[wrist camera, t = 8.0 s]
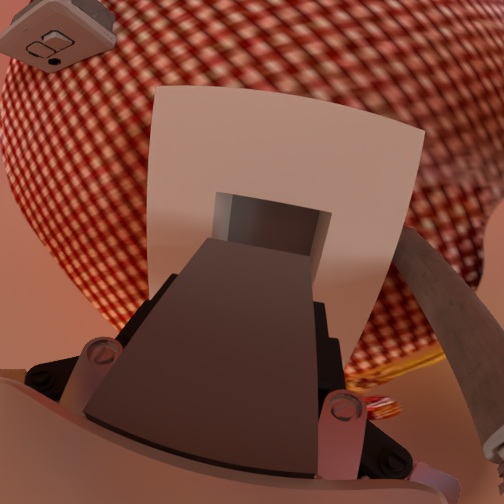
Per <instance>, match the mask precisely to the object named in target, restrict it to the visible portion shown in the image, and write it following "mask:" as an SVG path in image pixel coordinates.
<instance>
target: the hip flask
mask: <svg viewBox="0 0 504 504" xmlns="http://www.w3.org/2000/svg"><path fill="white" fill-rule="evenodd" d="M392 261H393V263H394V264H395V266H396V267H397V269H398V270H399V272H400V274H401V275H402V277H403V278H404V280H405V282H406V283H407V285H408V287H409V288H410V290H411V292H412V293H413V295H414V297H415V298H416V300H417V302H418V304H419V305H420V307H421V309H422V311H423V312H424V314H425V316H426V318H427V320H428V322H429V323H430V325H431V327H432V329H433V331H434V333H435V335H436V337H437V339H438V341H439V343H440V345H441V347H442V349H443V351H444V353H445V355H446V357H447V359H448V361H449V363H450V365H451V368H452V369H453V372H454V374H455V376H456V379H457V381H458V383H459V386H460V388H461V390H462V393H463V395H464V398H465V400H466V403H467V405H468V408H469V410H470V413H471V416H472V419H473V421H474V424H475V427H476V430H477V433H478V436H479V439H480V443H481V446H482V449H483V452H484V455H485V457H486V458H487V459H488V460H489V461H490V462H493V463H496V464H499V467H498V469H497V470H498V473H499V477H503V479H504V330H503V329H502V328H501V326H500V325H499V324H498V322H497V321H496V319H495V318H494V317H493V315H492V314H491V313H490V312H489V310H488V309H487V308H486V307H485V305H484V304H483V303H482V302H481V301H480V299H479V298H478V297H477V295H476V294H475V293H474V292H473V291H472V290H471V288H470V287H469V286H468V285H467V284H466V283H465V281H464V280H463V279H462V278H461V277H460V276H459V275H458V274H457V272H456V271H455V270H454V269H453V268H452V267H451V266H450V265H449V264H448V263H447V262H446V261H445V260H444V258H443V257H442V256H441V255H440V254H439V253H438V252H437V251H436V250H435V249H434V248H433V247H432V246H431V245H430V244H429V243H428V242H427V241H426V240H425V239H424V238H423V237H422V236H421V235H420V234H419V233H418V232H416V231H415V230H414V229H412V228H408V227H405V228H402V231H401V234H400V237H399V240H398V243H397V246H396V249H395V252H394V255H393V258H392ZM498 487H499V492H500V495H503V494H504V482H503V483H501V484H500V485H499V486H498Z"/></svg>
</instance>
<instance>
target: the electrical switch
mask: <svg viewBox="0 0 504 504" xmlns="http://www.w3.org/2000/svg"><path fill="white" fill-rule="evenodd" d="M78 6H79V7H78ZM94 13H95V15H94ZM115 18H116V17H115V16H114V15H113V14H112V13H111V12H110V11H109V10H108V9H107V8H105V7H104V6H103V5H102V4H101V3H100V2H99V1H98V0H34V1H33V2H32V3H30V4H29V5H28V6H26V7H25V8H24V9H23V10H21V11H20V12H19V13H18V14H17V15H15V16H14V18H13V20H12V22H11V24H10V26H9V27H8V28H7V29H6V30H5V31H4V32H3V33H2V34H0V53H2V54H5V55H7V56H10V57H12V58H14V59H17V60H19V61H22V62H24V63H26V64H29V65H31V66H33V67H35V68H38V69H40V70H42V71H44V72H46V73H54V72H57V71H59V70H61V69H63V68H65V67H67V66H69V65H72V64H74V63H76V62H79V61H81V60H83V59H86V58H88V57H91V56H94V55H96V54H99V53H102V52H104V51H107V50H110V49H113V48H114V46H115V43H116V41H117V38H116V36H115V35H114V34H113V33H111V32H112V26H113V23H114V20H115Z"/></svg>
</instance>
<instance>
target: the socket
mask: <svg viewBox="0 0 504 504" xmlns="http://www.w3.org/2000/svg"><path fill="white" fill-rule="evenodd" d="M424 136H425V131H424V130H421V129H418V128H416V127H413V126H410V125H408V124H405V123H402V122H399V121H396V120H393V119H390V118H387V117H384V116H380V115H377V114H374V113H370V112H367V111H363V110H360V109H356V108H352V107H348V106H344V105H340V104H336V103H331V102H327V101H322V100H317V99H312V98H307V97H302V96H296V95H290V94H284V93H277V92H270V91H262V90H253V89H243V88H230V87H214V86H156V90H155V97H154V105H153V114H152V123H151V134H150V146H149V160H148V180H147V264H148V284H149V298H150V300H151V299H152V298H153V296H154V295H155V294H156V293H157V291H158V290H159V289H160V288H161V286H162V285H163V284H164V283H165V281H166V280H167V279H168V278H169V276H170V275H171V274H172V273H175V274H179V273H180V272H181V271H182V269H183V268H184V267H185V266H186V264H187V263H188V262H189V260H190V259H191V258H192V257H193V255H194V254H195V253H196V251H197V250H198V249H199V248H200V246H201V245H202V244H203V243H204V241H205V240H206V239H207V238H214V239H219V240H224V241H230V242H235V243H241V244H246V245H251V246H257V247H262V248H267V249H273V250H278V251H283V252H289V253H294V254H299V255H305V256H309V260H310V270H311V281H312V293H313V301H316V302H322V303H325V309H326V317H327V325H328V333H329V337H332V338H338V339H339V343H340V349H341V356H342V364H343V370H344V368H345V366H346V364H347V362H348V361H349V359H350V357H351V355H352V353H353V351H354V349H355V347H356V345H357V342H358V340H359V338H360V336H361V334H362V332H363V330H364V328H365V325H366V323H367V321H368V319H369V316H370V314H371V312H372V309H373V307H374V305H375V302H376V300H377V298H378V295H379V293H380V290H381V288H382V285H383V283H384V280H385V277H386V275H387V272H388V269H389V267H390V264H391V261H392V258H393V255H394V252H395V249H396V246H397V243H398V240H399V237H400V234H401V231H402V228H403V224H404V221H405V218H406V214H407V211H408V207H409V204H410V200H411V196H412V192H413V188H414V184H415V180H416V176H417V171H418V167H419V162H420V157H421V152H422V147H423V142H424Z"/></svg>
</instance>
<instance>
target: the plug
mask: <svg viewBox="0 0 504 504" xmlns="http://www.w3.org/2000/svg"><path fill="white" fill-rule="evenodd" d="M83 413H84V414H85V416H86V418H87V419H88V420H89V421H91V422H93V423H95V424H97V425H99V426H102V427H104V428H106V429H108V430H110V431H112V432H115V433H117V434H119V435H121V436H124V437H126V438H129V439H131V440H134V441H136V442H139V443H141V444H144V445H147V446H149V447H152V448H155V449H158V450H161V451H164V452H167V453H170V454H173V455H176V456H179V457H183V458H186V459H190V460H193V461H197V462H201V463H205V464H209V465H213V466H218V467H222V468H227V469H232V470H237V471H243V472H249V473H255V474H262V475H269V476H278V477H288V478H301V479H312V478H313V477H314V476H315V475H316V474H318V379H317V354H316V335H315V319H314V305H313V293H312V281H311V270H310V260H309V256H305V255H299V254H294V253H289V252H283V251H278V250H273V249H267V248H262V247H257V246H251V245H246V244H241V243H235V242H230V241H224V240H219V239H214V238H207V239H206V240H205V241H204V243H203V244H202V245H201V246H200V248H199V249H198V250H197V251H196V253H195V254H194V255H193V257H192V258H191V259H190V260H189V262H188V263H187V264H186V266H185V267H184V268H183V269H182V271H181V272H180V273H179V275H178V276H177V277H176V279H175V280H174V281H173V283H172V284H171V285H170V286H169V288H168V289H167V290H166V292H165V293H164V294H163V296H162V297H161V298H160V300H159V301H158V302H157V304H156V305H155V307H154V308H153V309H152V311H151V312H150V313H149V315H148V316H147V317H146V319H145V320H144V322H143V323H142V324H141V326H140V327H139V328H138V330H137V331H136V333H135V334H134V335H133V337H132V338H131V340H130V341H129V342H128V344H127V345H126V347H125V348H124V350H123V351H122V352H121V354H120V355H119V357H118V358H117V360H116V361H115V363H114V364H113V365H112V367H111V368H110V370H109V371H108V373H107V374H106V376H105V377H104V379H103V380H102V382H101V383H100V385H99V386H98V388H97V389H96V391H95V392H94V394H93V395H92V397H91V398H90V400H89V401H88V403H87V404H86V406H85V408H84V409H83Z"/></svg>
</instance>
